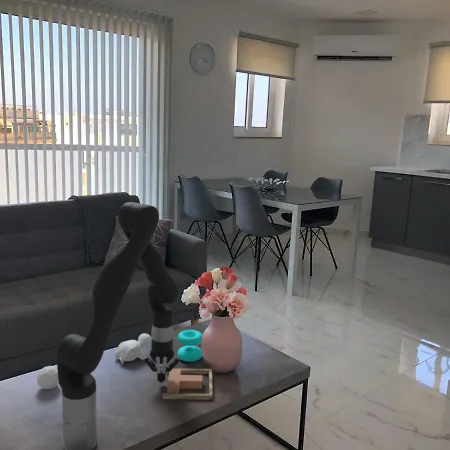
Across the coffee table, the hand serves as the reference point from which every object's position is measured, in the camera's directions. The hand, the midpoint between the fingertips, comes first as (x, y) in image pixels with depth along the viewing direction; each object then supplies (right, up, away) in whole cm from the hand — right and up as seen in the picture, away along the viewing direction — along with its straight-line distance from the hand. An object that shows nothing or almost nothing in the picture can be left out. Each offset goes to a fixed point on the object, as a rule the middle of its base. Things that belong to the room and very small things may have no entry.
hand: (161, 381), depth 173 cm
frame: (+9, -2, +1) cm, 10 cm away
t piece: (+8, -2, +1) cm, 9 cm away
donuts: (+9, +3, +22) cm, 23 cm away
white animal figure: (-13, +3, +19) cm, 24 cm away
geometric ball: (-38, -1, -4) cm, 39 cm away
